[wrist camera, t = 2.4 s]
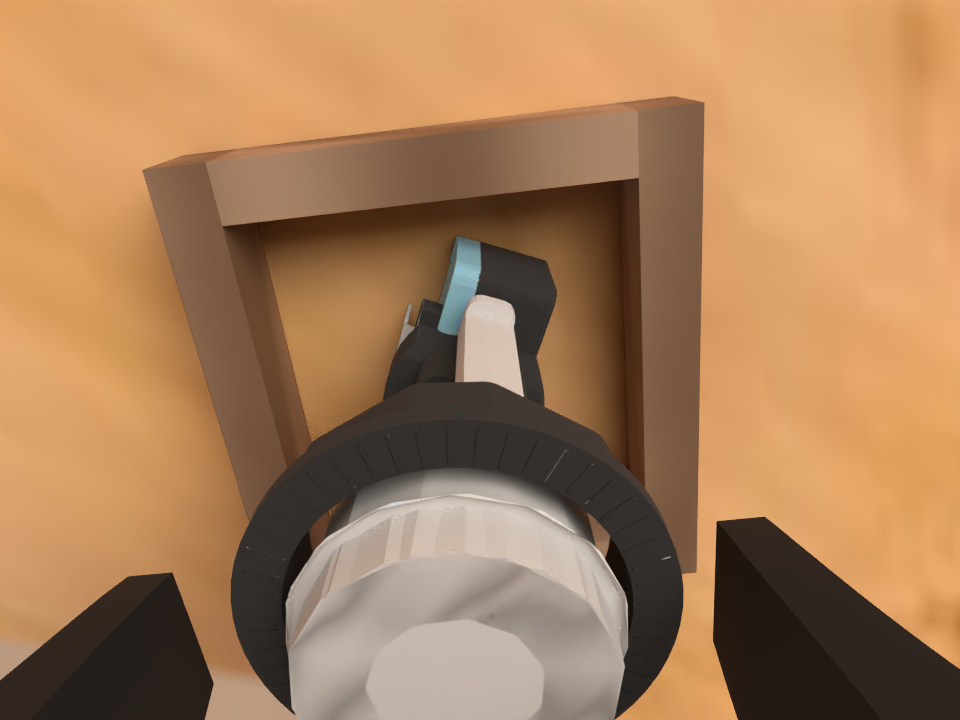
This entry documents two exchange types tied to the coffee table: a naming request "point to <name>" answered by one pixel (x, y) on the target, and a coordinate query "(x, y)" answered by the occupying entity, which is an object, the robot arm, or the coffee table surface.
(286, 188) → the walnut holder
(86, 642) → the robot arm
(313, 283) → the coffee table surface
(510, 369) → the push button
